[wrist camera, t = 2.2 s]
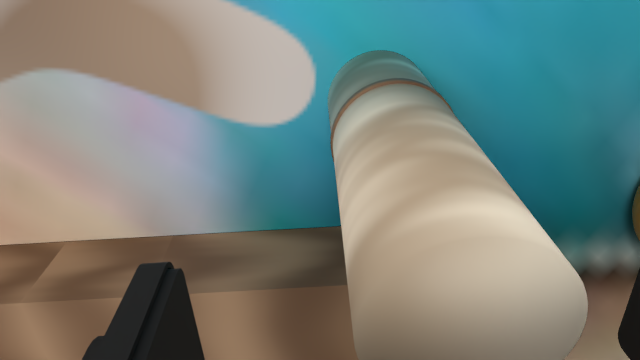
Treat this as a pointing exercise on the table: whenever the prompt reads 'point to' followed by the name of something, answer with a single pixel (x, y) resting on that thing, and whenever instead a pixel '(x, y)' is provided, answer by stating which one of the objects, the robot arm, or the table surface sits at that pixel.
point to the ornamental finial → (636, 213)
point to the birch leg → (438, 231)
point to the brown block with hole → (203, 286)
